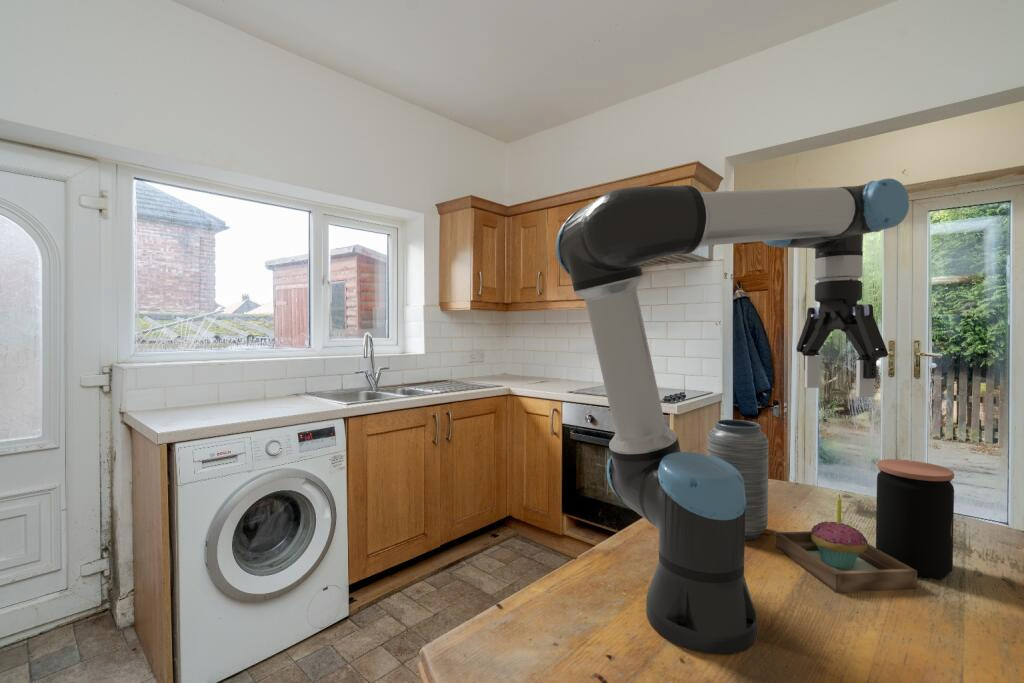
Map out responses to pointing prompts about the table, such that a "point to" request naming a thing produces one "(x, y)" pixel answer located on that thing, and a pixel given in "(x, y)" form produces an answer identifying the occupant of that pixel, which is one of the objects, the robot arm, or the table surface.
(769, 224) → the robot arm
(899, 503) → the coffee jar
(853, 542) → the cupcake
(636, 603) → the table surface
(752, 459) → the vase
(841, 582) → the walled box
